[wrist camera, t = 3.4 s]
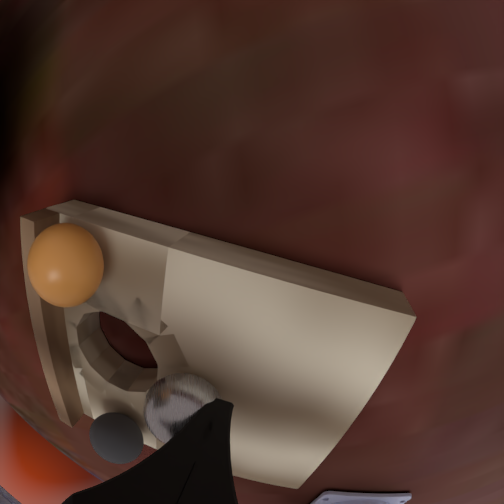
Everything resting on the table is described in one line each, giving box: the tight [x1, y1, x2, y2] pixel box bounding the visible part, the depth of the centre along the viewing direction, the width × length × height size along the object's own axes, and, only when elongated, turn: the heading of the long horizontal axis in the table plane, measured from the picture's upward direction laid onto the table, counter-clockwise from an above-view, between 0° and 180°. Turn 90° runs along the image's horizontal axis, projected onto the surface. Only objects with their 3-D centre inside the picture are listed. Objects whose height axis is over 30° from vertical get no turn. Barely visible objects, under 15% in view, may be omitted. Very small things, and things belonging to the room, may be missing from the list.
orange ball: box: [27, 223, 104, 307], centre depth 9 cm, size 3×3×3 cm
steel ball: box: [143, 373, 222, 444], centre depth 10 cm, size 3×3×3 cm
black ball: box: [90, 412, 144, 464], centre depth 12 cm, size 3×3×3 cm
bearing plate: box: [20, 200, 416, 489], centre depth 12 cm, size 13×15×4 cm
